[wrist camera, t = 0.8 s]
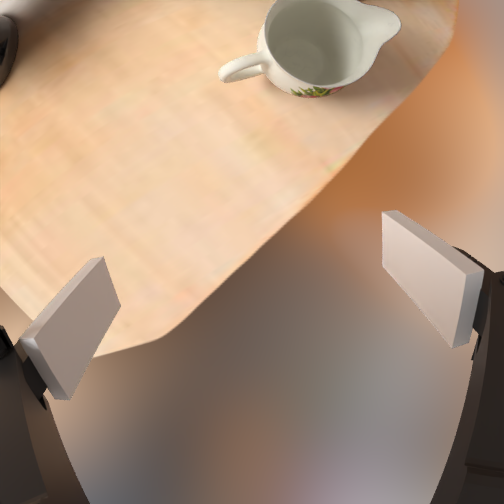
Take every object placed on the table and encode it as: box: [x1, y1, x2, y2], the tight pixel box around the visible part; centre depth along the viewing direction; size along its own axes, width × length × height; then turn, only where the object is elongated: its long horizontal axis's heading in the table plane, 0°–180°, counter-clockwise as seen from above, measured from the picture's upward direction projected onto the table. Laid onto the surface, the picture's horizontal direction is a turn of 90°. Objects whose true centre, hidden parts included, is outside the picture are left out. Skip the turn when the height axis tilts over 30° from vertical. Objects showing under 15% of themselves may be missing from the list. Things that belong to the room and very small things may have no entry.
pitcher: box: [218, 0, 401, 98], centre depth 29 cm, size 11×18×14 cm, turn 111°
